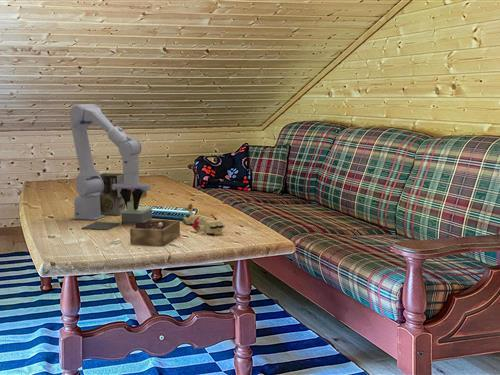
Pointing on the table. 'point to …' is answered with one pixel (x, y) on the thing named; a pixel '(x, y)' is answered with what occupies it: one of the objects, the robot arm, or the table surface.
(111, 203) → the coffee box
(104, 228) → the mat
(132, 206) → the lid
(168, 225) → the holders
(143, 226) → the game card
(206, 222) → the cat figure
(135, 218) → the tub
